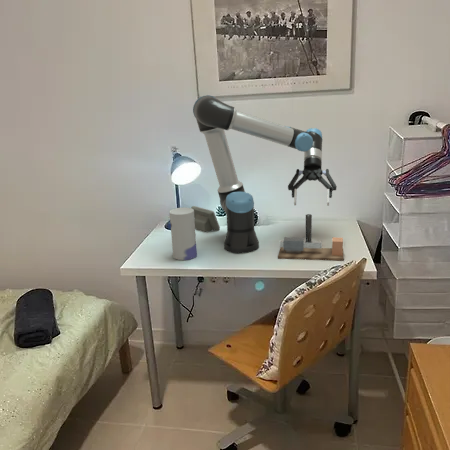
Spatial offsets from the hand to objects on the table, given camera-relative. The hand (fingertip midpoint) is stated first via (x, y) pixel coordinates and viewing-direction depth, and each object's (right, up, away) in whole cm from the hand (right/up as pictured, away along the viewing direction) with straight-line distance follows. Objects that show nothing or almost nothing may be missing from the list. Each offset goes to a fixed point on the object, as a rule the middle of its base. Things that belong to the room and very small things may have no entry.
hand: (311, 204), depth 210 cm
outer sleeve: (-8, -20, -2) cm, 21 cm away
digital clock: (-45, -11, +36) cm, 59 cm away
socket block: (+9, -20, -6) cm, 23 cm away
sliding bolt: (-5, -18, -3) cm, 19 cm away
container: (-53, -22, +2) cm, 57 cm away
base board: (-2, -21, -3) cm, 21 cm away
